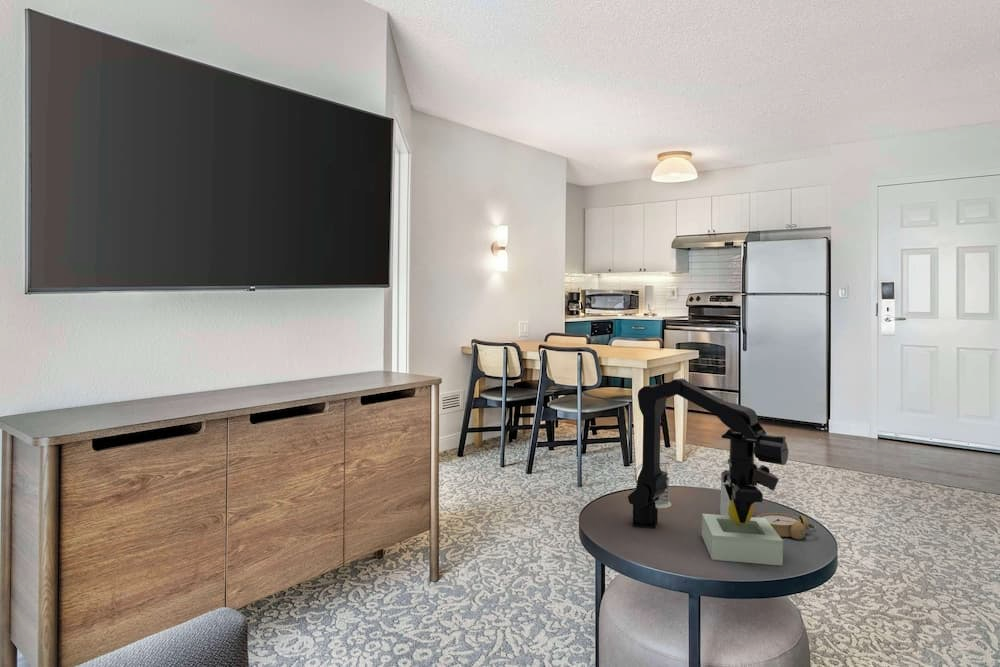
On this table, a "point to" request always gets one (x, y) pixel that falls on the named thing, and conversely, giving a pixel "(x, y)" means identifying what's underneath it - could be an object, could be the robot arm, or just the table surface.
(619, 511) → the table surface
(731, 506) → the lemon
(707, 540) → the pale green square tray
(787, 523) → the alarm clock
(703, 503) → the table surface
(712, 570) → the table surface
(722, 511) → the small box
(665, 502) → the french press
